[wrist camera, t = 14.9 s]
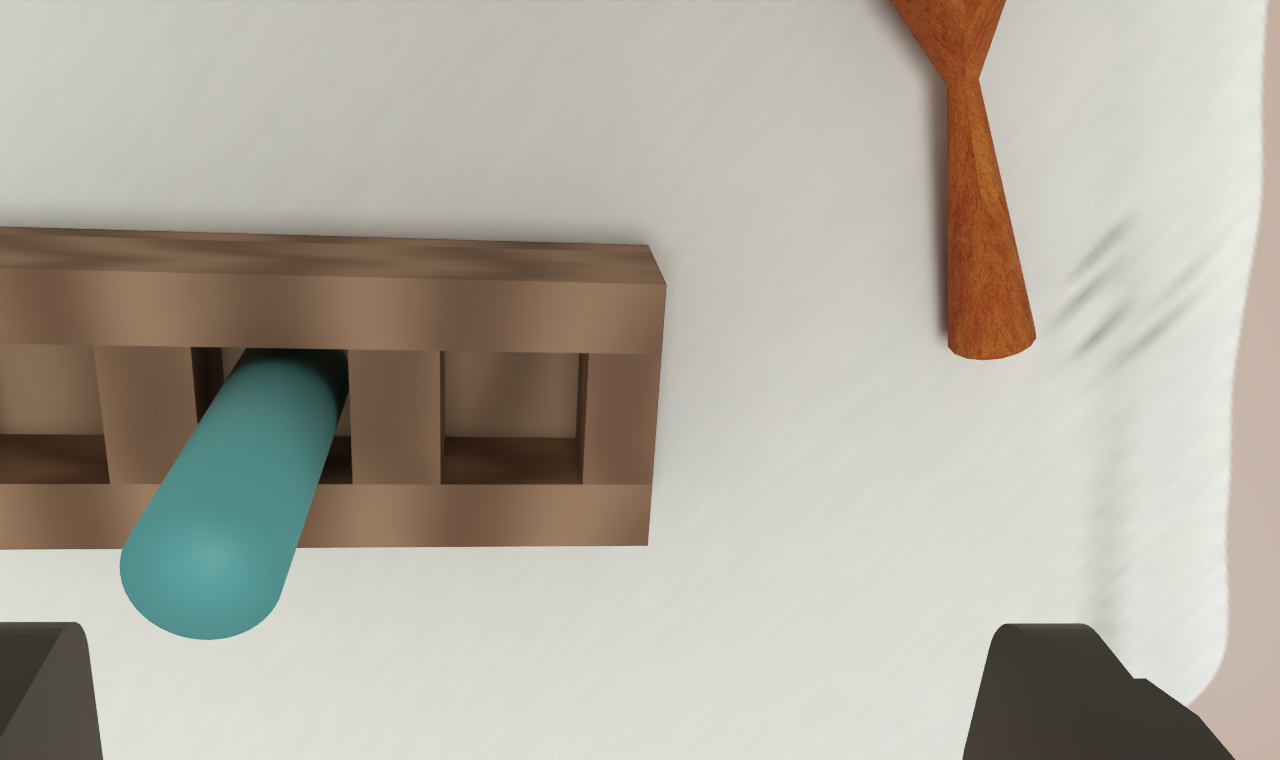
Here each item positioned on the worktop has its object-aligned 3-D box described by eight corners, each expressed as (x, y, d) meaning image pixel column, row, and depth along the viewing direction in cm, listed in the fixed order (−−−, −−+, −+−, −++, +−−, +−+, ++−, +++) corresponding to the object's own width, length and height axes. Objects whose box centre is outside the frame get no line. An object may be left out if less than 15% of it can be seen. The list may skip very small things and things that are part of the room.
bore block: (-50, 482, 43) (-116, 550, 38) (-97, 223, 39) (-177, 263, 35) (632, 483, 46) (647, 545, 42) (648, 245, 43) (666, 284, 38)
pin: (235, 323, 41) (111, 503, 28) (349, 324, 41) (278, 502, 28) (243, 425, 42) (128, 641, 29) (352, 425, 43) (288, 638, 30)
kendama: (927, 390, 42) (841, -197, 33) (902, 319, 47) (822, -204, 38) (1093, 359, 41) (1053, -254, 32) (1049, 291, 46) (1004, -253, 37)
